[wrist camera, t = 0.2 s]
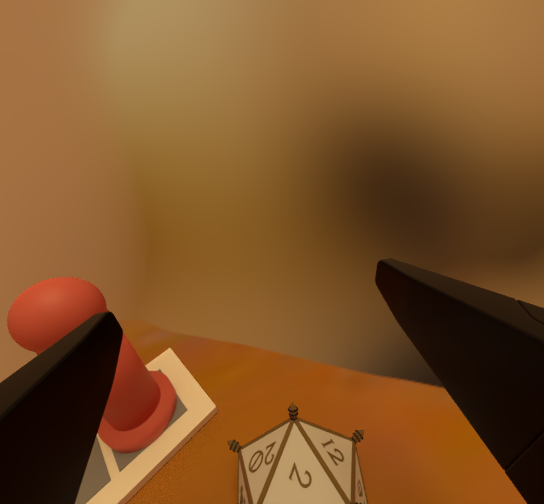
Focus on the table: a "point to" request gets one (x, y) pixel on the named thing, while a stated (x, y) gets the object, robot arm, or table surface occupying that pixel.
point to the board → (148, 461)
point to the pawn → (130, 369)
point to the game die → (300, 466)
